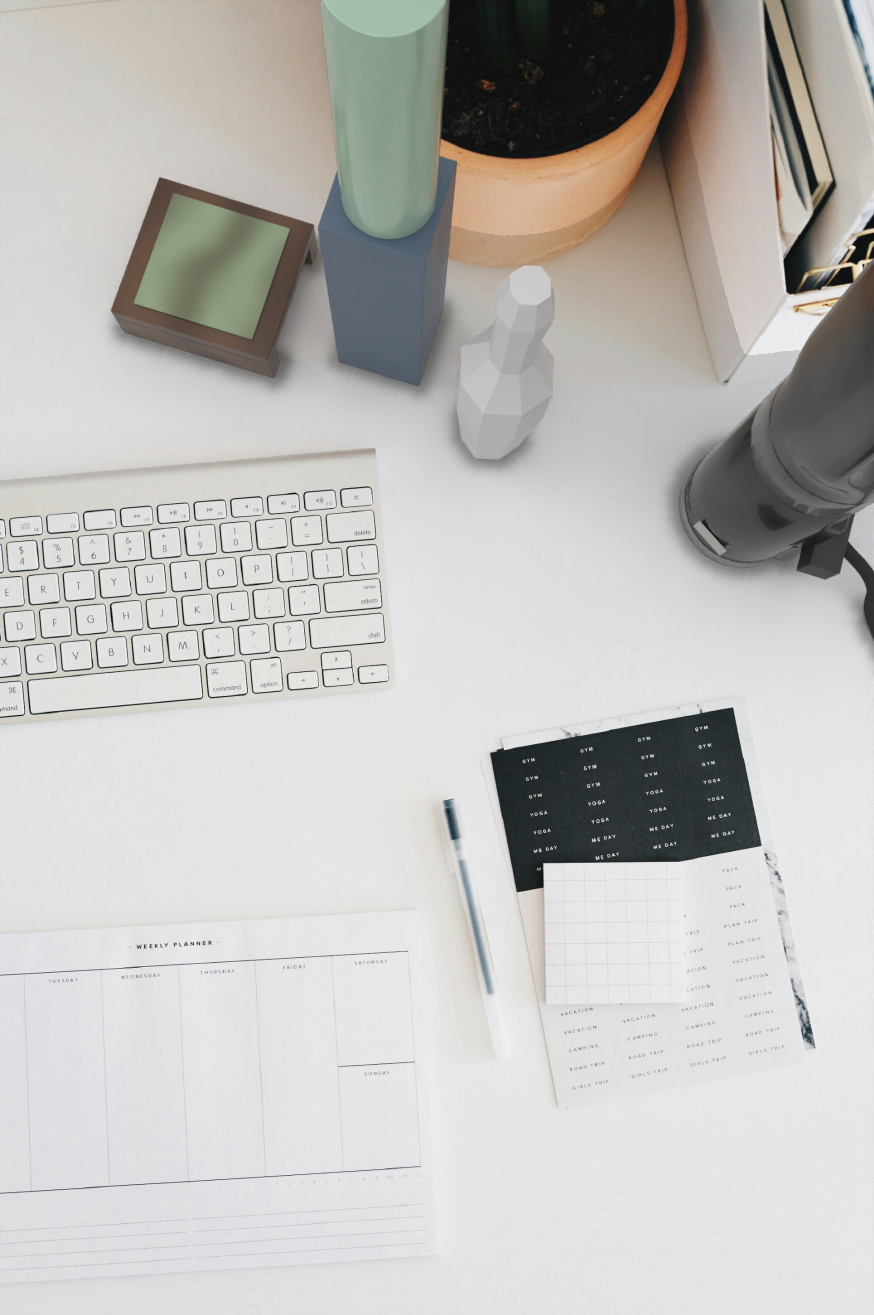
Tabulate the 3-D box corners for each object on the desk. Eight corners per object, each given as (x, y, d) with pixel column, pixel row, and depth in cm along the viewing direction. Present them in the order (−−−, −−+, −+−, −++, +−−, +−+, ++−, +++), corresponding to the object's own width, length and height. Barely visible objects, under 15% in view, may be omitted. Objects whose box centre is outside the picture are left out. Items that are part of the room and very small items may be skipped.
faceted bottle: (541, 458, 71) (605, 324, 49) (462, 481, 70) (491, 355, 48) (517, 382, 71) (568, 215, 49) (438, 404, 71) (455, 245, 49)
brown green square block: (318, 249, 72) (313, 222, 68) (274, 378, 70) (267, 357, 67) (170, 203, 72) (158, 174, 68) (124, 332, 70) (109, 309, 67)
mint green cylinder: (449, 166, 54) (468, -62, 39) (419, 252, 53) (426, 54, 38) (358, 136, 54) (342, -104, 39) (327, 221, 53) (298, 11, 38)
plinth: (443, 309, 72) (457, 160, 54) (419, 386, 71) (425, 260, 53) (363, 285, 71) (351, 127, 54) (338, 361, 71) (317, 227, 53)
